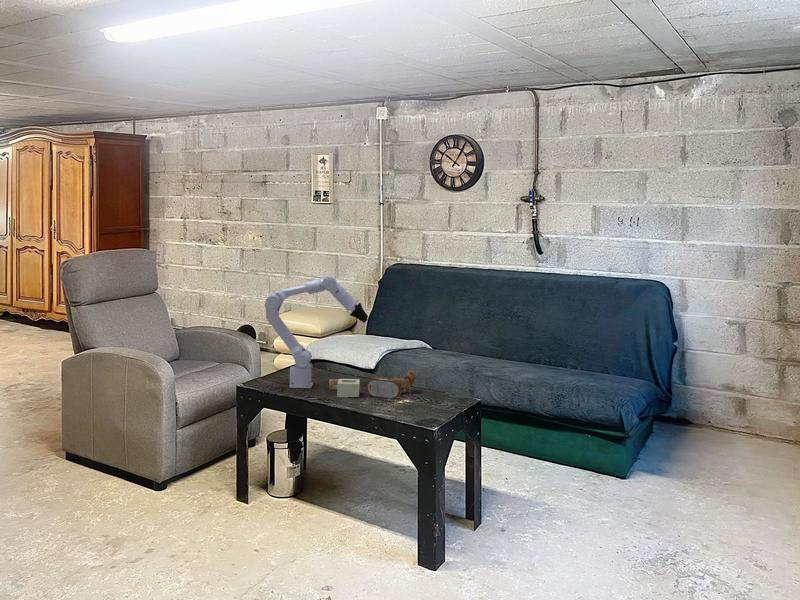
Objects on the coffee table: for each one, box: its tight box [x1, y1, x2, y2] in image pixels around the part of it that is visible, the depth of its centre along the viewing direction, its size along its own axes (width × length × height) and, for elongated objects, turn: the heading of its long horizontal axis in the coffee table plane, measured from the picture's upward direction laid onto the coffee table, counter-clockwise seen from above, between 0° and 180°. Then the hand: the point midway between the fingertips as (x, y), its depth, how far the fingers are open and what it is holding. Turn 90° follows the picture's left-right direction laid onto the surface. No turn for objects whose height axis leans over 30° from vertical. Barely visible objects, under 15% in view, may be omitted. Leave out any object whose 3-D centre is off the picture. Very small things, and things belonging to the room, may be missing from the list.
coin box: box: [336, 378, 361, 398], centre depth 300 cm, size 9×8×6 cm
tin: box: [366, 376, 403, 400], centre depth 298 cm, size 15×3×8 cm, turn 74°
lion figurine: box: [394, 370, 417, 394], centre depth 306 cm, size 15×5×9 cm, turn 129°
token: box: [328, 379, 339, 390], centre depth 309 cm, size 4×2×4 cm, turn 91°
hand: (366, 320), depth 308 cm, fingers open, 7 cm apart
